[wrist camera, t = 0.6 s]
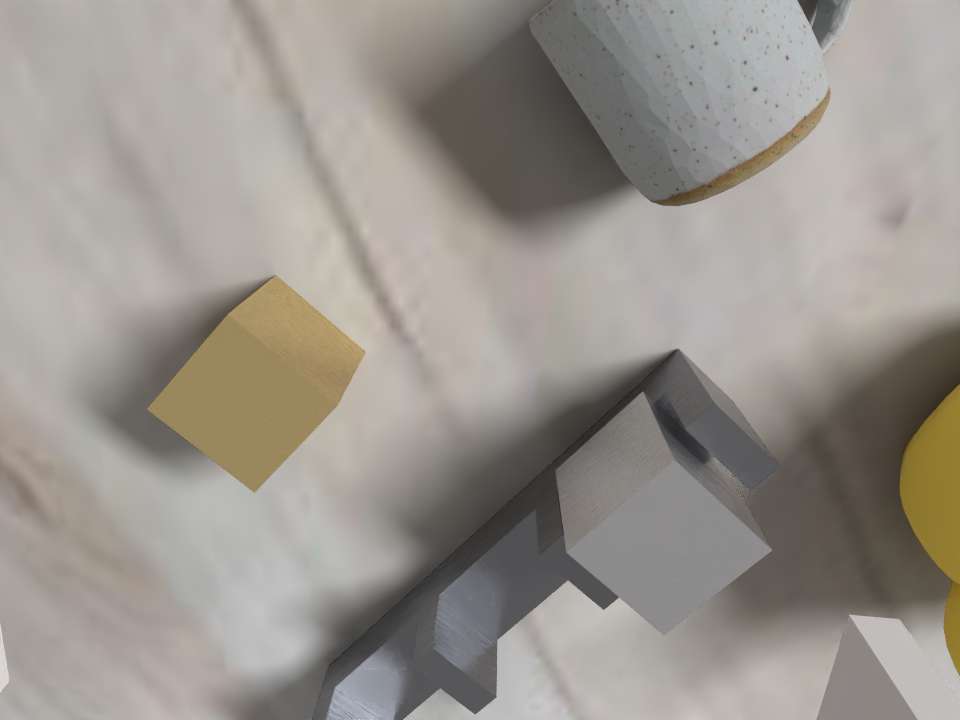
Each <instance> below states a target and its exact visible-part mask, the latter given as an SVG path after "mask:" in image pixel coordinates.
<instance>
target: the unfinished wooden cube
mask: <svg viewBox="0 0 960 720" xmlns="http://www.w3.org/2000/svg"><path fill="white" fill-rule="evenodd" d="M364 354H365V351H364V350H363V349H362V348H360V347H359V346H358V345H357V344H356V343H355V342H353V341H352V340H351V339H350V338H349V337H348V336H346V335H345V334H344V333H343V332H342V331H341V330H339V329H338V328H337V327H336V326H335V325H334V324H332V323H331V322H330V321H329V320H328V319H327V318H325V317H324V316H323V315H322V314H321V313H320V312H318V311H317V310H316V309H315V308H314V307H313V306H311V305H310V304H309V303H308V302H307V301H306V300H304V299H303V298H302V297H301V296H300V295H299V294H297V293H296V292H295V291H294V290H293V289H292V288H290V287H289V286H288V285H287V284H286V283H285V282H283V281H282V280H281V279H280V278H279V277H278V276H276V275H275V276H274V277H273V278H272V279H270V280H269V281H268V282H267V283H265V284H264V285H263V286H262V287H261V288H259V289H258V290H257V291H256V292H254V293H253V294H252V295H251V296H250V297H248V298H247V299H246V300H245V301H243V302H242V303H241V304H240V305H238V306H237V307H236V308H235V309H234V310H232V311H231V312H230V313H229V314H227V316H226V317H225V318H224V319H223V320H222V321H221V323H220V324H219V325H218V326H217V327H216V329H215V330H214V331H213V332H212V333H211V334H210V336H209V337H208V338H207V339H206V340H205V341H204V343H203V344H202V345H201V346H200V347H199V348H198V350H197V351H196V352H195V353H194V354H193V355H192V357H191V358H190V359H189V360H188V361H187V363H186V364H185V365H184V366H183V367H182V368H181V370H180V371H179V372H178V373H177V374H176V375H175V377H174V378H173V379H172V380H171V381H170V382H169V384H168V385H167V386H166V387H165V388H164V389H163V391H162V392H161V393H160V394H159V395H158V397H157V398H156V399H155V400H154V401H153V402H152V404H151V405H150V406H149V407H148V408H147V410H148V411H150V412H151V413H152V414H154V415H155V416H156V417H157V418H159V419H160V420H161V421H163V422H164V423H165V424H166V425H168V426H169V427H170V428H172V429H173V430H174V431H176V432H177V433H178V434H179V435H181V436H182V437H183V438H185V439H186V440H187V441H188V442H190V443H191V444H192V445H194V446H195V447H196V448H197V449H199V450H200V451H201V452H203V453H204V454H205V455H207V456H208V457H209V458H210V459H212V460H213V461H214V462H216V463H217V464H218V465H219V466H221V467H222V468H223V469H225V470H226V471H227V472H229V473H230V474H231V475H232V476H234V477H235V478H236V479H238V480H239V481H240V482H241V483H243V484H244V485H245V486H247V487H248V488H249V489H251V490H252V491H253V492H254V493H255V492H256V491H257V489H258V488H259V487H260V486H261V485H262V484H263V483H264V482H265V481H266V480H267V479H268V478H269V477H270V476H271V475H272V474H273V473H274V472H275V471H276V470H277V468H278V467H279V466H280V465H281V464H282V463H283V462H284V461H285V460H286V459H287V458H288V457H289V456H290V455H291V454H292V453H293V452H294V451H295V450H296V449H297V447H298V446H299V445H300V444H301V443H302V442H303V441H304V440H305V439H306V438H307V437H308V436H309V435H310V434H311V433H312V432H313V431H314V430H315V429H316V428H317V426H318V425H319V424H320V423H321V422H322V421H323V420H324V419H325V418H326V417H327V416H328V415H329V414H330V413H331V412H332V411H333V410H334V409H335V408H336V407H337V405H338V404H339V402H340V400H341V398H342V396H343V394H344V392H345V390H346V388H347V386H348V385H349V383H350V381H351V379H352V377H353V375H354V373H355V371H356V369H357V367H358V365H359V364H360V362H361V360H362V358H363V356H364Z"/></svg>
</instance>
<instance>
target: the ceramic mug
mask: <svg viewBox="0 0 960 720" xmlns="http://www.w3.org/2000/svg"><path fill="white" fill-rule="evenodd" d="M852 1H853V0H818V4H817V13H816V16H815V20H814V23H813V26H812V28H811V26H810V24H809V22H808V20H807V18H806V16H805V14H804V12H803V10H802V8H801V6H800V5H799V3H798V1H797V0H553V1H552V2H550V3H549V4H548V5H547V6H546V7H544V8H543V9H541V10H540V11H539V12H538V13H537V14H535V15H534V16H533V17H531V19H530V20H529V22H528V23H529V28H530V31H531V33H532V34H533V36H534V37H535V39H536V40H537V42H538V43H539V45H540V46H541V48H542V49H543V51H544V52H545V54H546V55H547V57H548V58H549V60H550V61H551V63H552V65H553V66H554V68H555V69H556V71H557V72H558V74H559V75H560V77H561V79H562V80H563V82H564V83H565V85H566V86H567V88H568V89H569V91H570V92H571V94H572V95H573V97H574V98H575V100H576V101H577V103H578V104H579V106H580V107H581V109H582V110H583V112H584V113H585V115H586V116H587V118H588V119H589V121H590V122H591V124H592V125H593V127H594V128H595V130H596V131H597V133H598V134H599V136H600V138H601V139H602V141H603V142H604V144H605V145H606V147H607V148H608V150H609V152H610V153H611V155H612V156H613V158H614V159H615V161H616V163H617V164H618V166H619V167H620V169H621V170H622V172H623V174H624V175H625V176H626V177H627V178H628V179H629V180H630V181H631V182H632V184H633V185H634V186H635V187H636V188H637V189H638V190H639V191H640V192H641V193H642V194H643V195H644V196H645V197H646V198H647V199H649V200H650V201H651V202H654V203H657V204H660V205H664V206H681V205H686V204H691V203H695V202H698V201H701V200H704V199H707V198H709V197H712V196H714V195H717V194H719V193H722V192H724V191H726V190H728V189H730V188H732V187H734V186H736V185H738V184H740V183H741V182H743V181H745V180H747V179H749V178H750V177H752V176H754V175H756V174H757V173H759V172H761V171H762V170H764V169H765V168H767V167H769V166H770V165H771V164H773V163H774V162H775V161H777V160H778V159H779V158H781V157H782V156H784V155H785V154H786V153H788V152H789V151H790V150H791V149H792V148H794V147H795V146H796V145H797V144H798V143H800V142H801V141H802V140H803V139H804V138H806V137H807V136H808V134H809V133H810V132H811V131H812V130H813V129H814V128H815V127H816V125H817V124H818V123H819V122H820V120H821V118H822V116H823V114H824V112H825V110H826V107H827V105H828V103H829V99H830V87H829V81H828V75H827V71H826V67H825V63H824V58H823V55H825V54H826V53H827V51H828V50H829V49H830V47H831V46H832V45H833V44H834V43H835V42H836V41H837V39H838V37H839V36H840V34H841V32H842V30H843V29H844V27H845V25H846V23H847V21H848V18H849V15H850V11H851V6H852Z"/></svg>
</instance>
